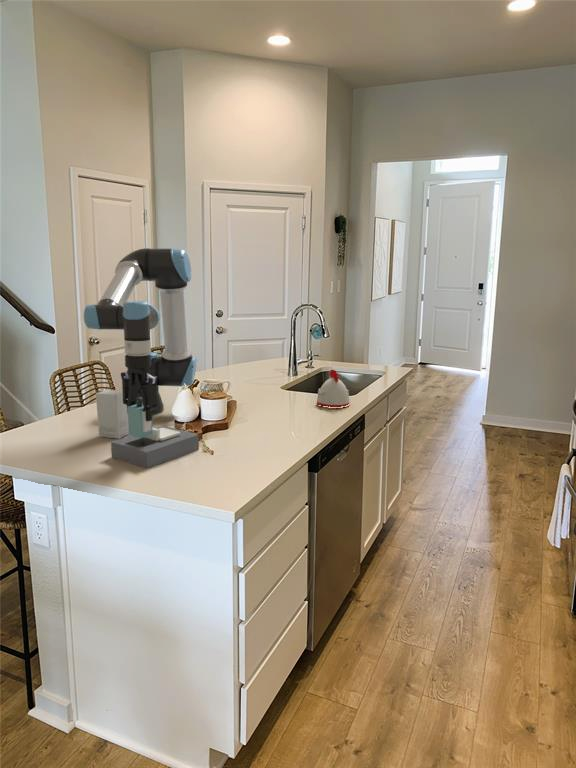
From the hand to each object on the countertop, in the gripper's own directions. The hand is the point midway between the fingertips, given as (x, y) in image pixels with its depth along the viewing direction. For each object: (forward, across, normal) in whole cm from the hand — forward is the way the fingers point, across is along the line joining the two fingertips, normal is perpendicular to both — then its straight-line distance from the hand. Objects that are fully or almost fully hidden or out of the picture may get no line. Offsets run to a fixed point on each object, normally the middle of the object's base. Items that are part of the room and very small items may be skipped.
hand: (140, 429), depth 179 cm
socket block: (+9, 0, +6) cm, 11 cm away
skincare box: (+10, -26, +10) cm, 29 cm away
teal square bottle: (+2, 0, 0) cm, 2 cm away
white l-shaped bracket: (+4, 0, +8) cm, 9 cm away
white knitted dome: (+9, +13, +96) cm, 97 cm away
